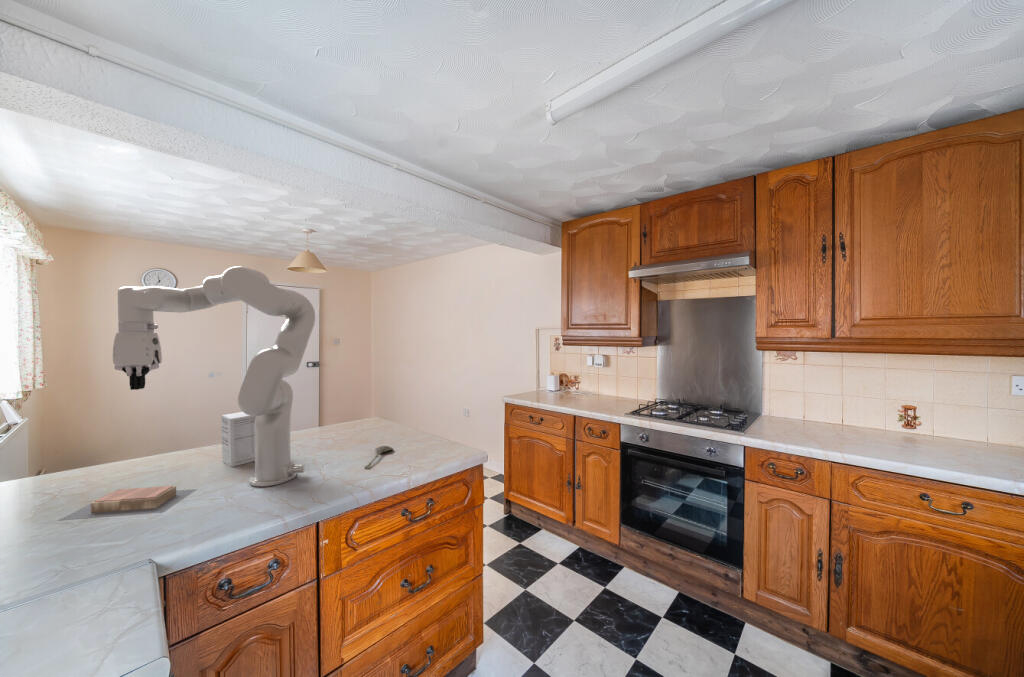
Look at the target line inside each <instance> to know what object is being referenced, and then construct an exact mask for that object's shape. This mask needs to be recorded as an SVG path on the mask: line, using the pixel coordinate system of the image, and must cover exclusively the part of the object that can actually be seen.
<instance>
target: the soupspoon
mask: <svg viewBox="0 0 1024 677" xmlns="http://www.w3.org/2000/svg"><path fill="white" fill-rule="evenodd" d="M374 450H375V451H376V452H378V453H377V454H376V455H375V456H374V457H373V458H372V460H371V461H370V462H368V464H367V465H365V466H364V469H365V470H369V469H370V468H371V465H372V464H373V462H374V461H375V460H376V459H377V458H378V457H379V456H380V455H381V454H382V453H386V452H388V451H389V452H390V451H391V450H394V448H392V447H391V446H387V445H381V446H378V447H376V448H375V449H374Z"/></svg>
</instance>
